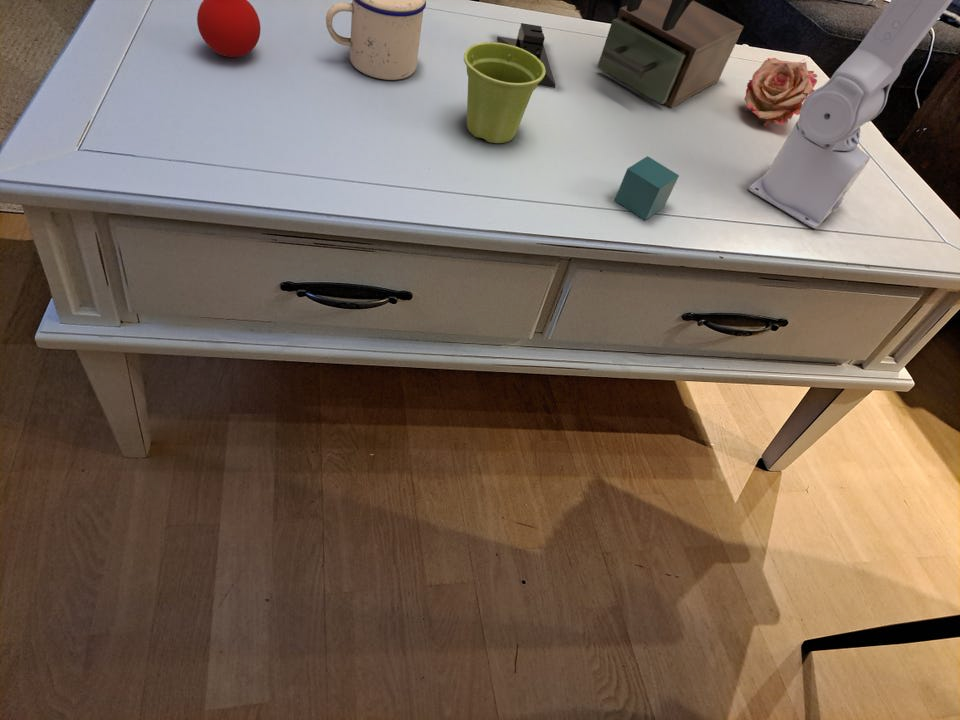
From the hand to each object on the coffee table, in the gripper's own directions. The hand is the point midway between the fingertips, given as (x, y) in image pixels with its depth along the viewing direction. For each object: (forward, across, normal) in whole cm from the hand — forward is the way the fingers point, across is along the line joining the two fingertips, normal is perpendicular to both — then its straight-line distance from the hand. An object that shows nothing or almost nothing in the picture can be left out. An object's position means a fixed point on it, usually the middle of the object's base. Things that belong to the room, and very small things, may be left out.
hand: (649, 19), depth 89 cm
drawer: (+10, 0, -5) cm, 11 cm away
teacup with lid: (+11, +23, +26) cm, 37 cm away
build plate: (+11, +13, +6) cm, 18 cm away
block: (+10, -16, +20) cm, 28 cm away
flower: (+11, -16, -15) cm, 24 cm away
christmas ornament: (+11, +33, +40) cm, 53 cm away
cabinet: (+10, 0, -11) cm, 15 cm away
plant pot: (+11, +4, +24) cm, 27 cm away
